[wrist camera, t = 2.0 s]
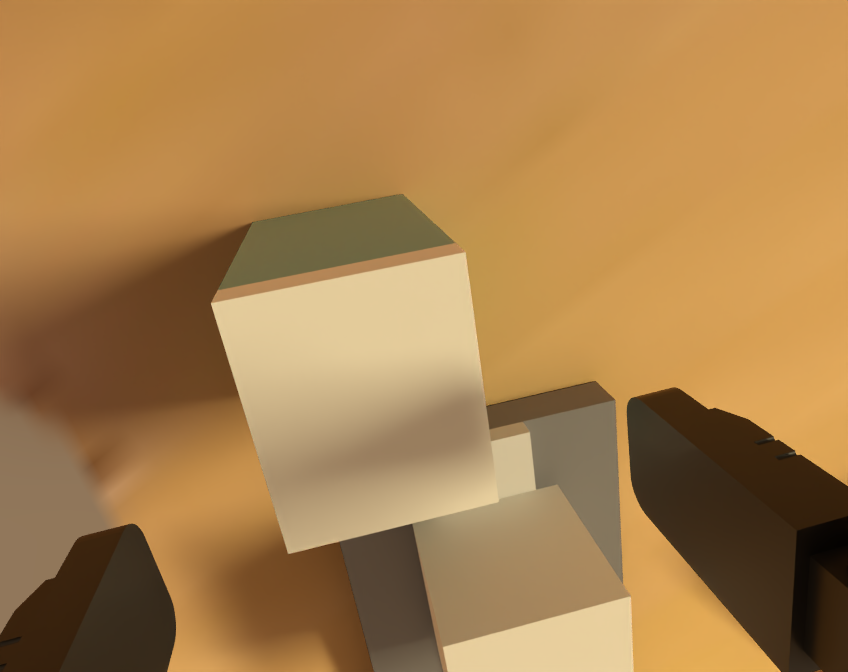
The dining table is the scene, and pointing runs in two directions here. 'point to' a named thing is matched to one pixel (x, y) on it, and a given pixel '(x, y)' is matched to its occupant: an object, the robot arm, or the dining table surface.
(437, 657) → the rail board
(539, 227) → the dining table surface
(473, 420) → the block
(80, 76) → the dining table surface
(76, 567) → the robot arm
